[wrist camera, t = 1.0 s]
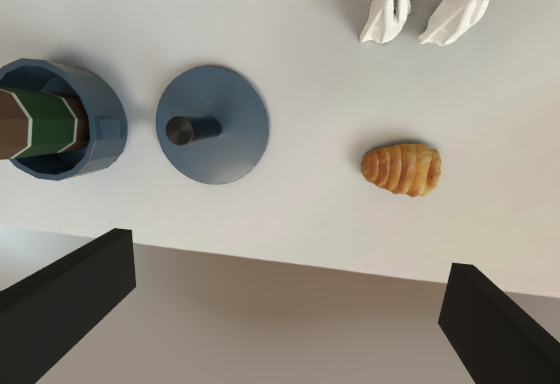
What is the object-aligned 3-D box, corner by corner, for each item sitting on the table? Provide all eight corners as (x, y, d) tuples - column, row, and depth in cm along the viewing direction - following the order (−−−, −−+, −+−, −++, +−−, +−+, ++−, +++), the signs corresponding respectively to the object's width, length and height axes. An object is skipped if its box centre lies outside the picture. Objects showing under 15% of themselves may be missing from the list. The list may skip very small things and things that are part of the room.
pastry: (356, 187, 39) (360, 194, 36) (364, 138, 38) (369, 139, 34) (426, 195, 39) (438, 202, 35) (437, 145, 37) (451, 147, 33)
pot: (9, 62, 40) (-45, 52, 34) (143, 74, 39) (112, 65, 32) (24, 164, 44) (-22, 171, 38) (146, 178, 42) (119, 188, 36)
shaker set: (468, 10, 33) (544, -42, 22) (459, 50, 34) (527, 18, 23) (363, 5, 34) (387, -48, 23) (358, 43, 35) (378, 9, 24)
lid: (158, 63, 38) (102, 42, 28) (273, 72, 37) (259, 54, 27) (160, 176, 42) (112, 195, 32) (264, 188, 41) (248, 211, 31)
